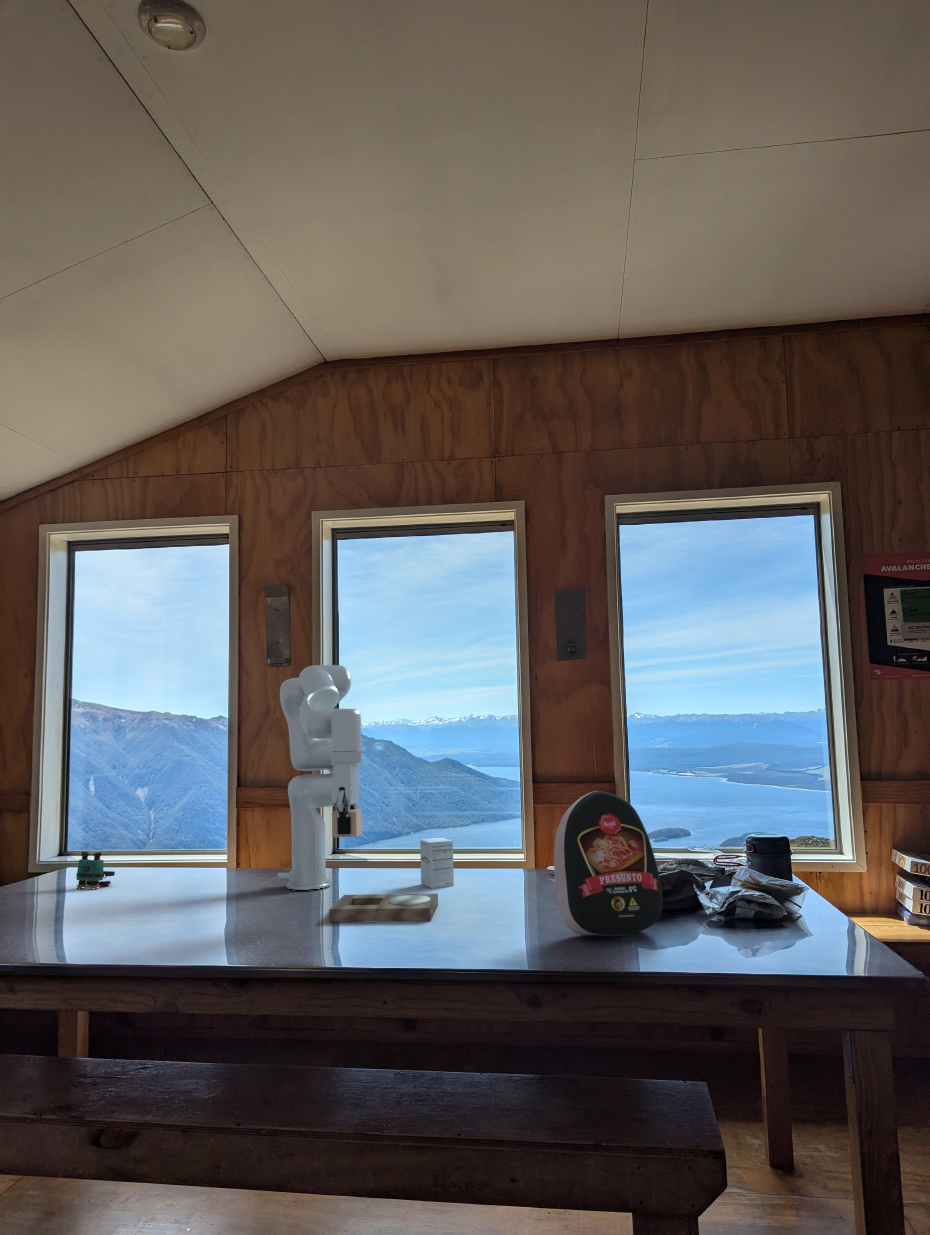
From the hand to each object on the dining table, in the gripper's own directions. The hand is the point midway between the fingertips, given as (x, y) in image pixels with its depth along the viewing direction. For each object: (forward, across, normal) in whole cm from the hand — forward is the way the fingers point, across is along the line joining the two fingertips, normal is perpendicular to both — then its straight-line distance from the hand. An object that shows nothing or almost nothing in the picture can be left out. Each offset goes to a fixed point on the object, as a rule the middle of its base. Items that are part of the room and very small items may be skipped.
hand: (347, 831), depth 210 cm
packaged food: (+20, +19, +62) cm, 68 cm away
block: (+1, 0, 0) cm, 1 cm away
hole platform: (+20, -1, +9) cm, 22 cm away
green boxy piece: (+20, -37, -86) cm, 96 cm away
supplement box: (+20, -35, +17) cm, 44 cm away
